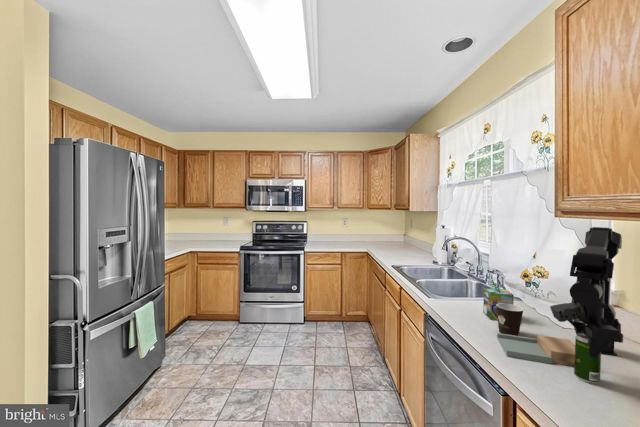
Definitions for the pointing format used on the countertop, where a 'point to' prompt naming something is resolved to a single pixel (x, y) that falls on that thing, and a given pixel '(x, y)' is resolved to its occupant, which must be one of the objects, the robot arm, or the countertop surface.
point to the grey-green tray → (522, 348)
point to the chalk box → (495, 300)
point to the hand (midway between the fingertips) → (587, 352)
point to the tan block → (558, 349)
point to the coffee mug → (508, 318)
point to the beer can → (586, 361)
